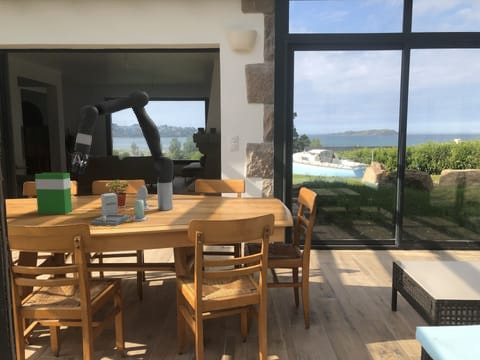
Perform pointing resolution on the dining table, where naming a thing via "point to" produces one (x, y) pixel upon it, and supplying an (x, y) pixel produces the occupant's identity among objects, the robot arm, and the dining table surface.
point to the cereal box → (53, 193)
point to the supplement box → (109, 204)
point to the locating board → (111, 219)
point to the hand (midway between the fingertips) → (77, 173)
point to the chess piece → (143, 196)
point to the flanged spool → (139, 211)
